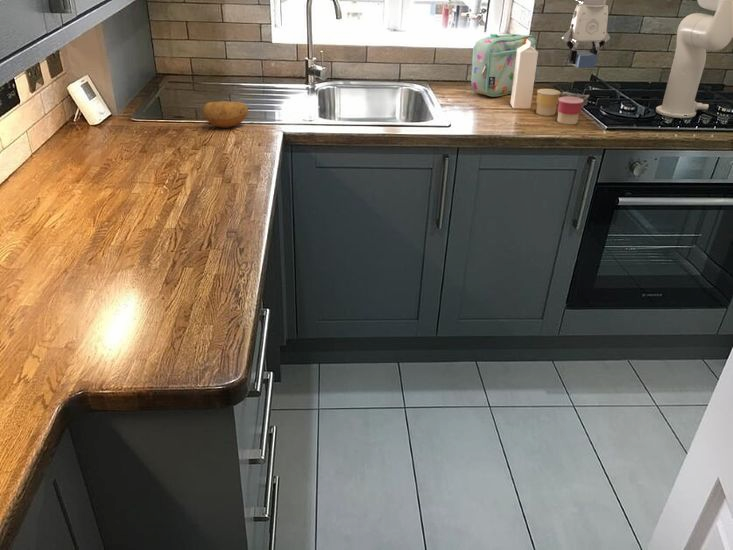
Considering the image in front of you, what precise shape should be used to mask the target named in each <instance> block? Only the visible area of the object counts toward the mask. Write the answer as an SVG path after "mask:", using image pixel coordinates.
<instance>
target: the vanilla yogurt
mask: <svg viewBox="0 0 733 550" xmlns="http://www.w3.org/2000/svg"><path fill="white" fill-rule="evenodd" d="M536 93H537V94H536V100H535V102H536V109H535V113H536V114H537V115H540V116H546V117H549V116H554V115H556V110H557V106H558V105H557V104H558V101H559V95H560V93H561V91H560V90H558V89H555V88H554V89H553V88H540V89H537V90H536Z"/></svg>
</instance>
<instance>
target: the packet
mask: <svg viewBox="0 0 733 550" xmlns="http://www.w3.org/2000/svg"><path fill="white" fill-rule="evenodd" d="M576 51H577V55H576V60H575V64H571V63H569V60H568V58H569V56H568V57H567V63H568V64H570V65H571V66H574V67H575V68H578V69H583V68H585V69H586V68H587V69H589V68H596V64H597V59H598V54H597V55H595V54H593V53H591V52H590V50H587V49H582V50H581V49H580V50H579V49H578V50H577V49H576ZM569 52H570V50H569V51H568V53H569Z"/></svg>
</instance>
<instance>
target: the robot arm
mask: <svg viewBox="0 0 733 550" xmlns="http://www.w3.org/2000/svg"><path fill="white" fill-rule="evenodd" d="M575 1H576V2H578V4H576V7H575V8H574V11H573V15H572V19H571V22H570V26H569V29H568V30H567V31H566V32H565V33H564V34H563V35H562V36H561V40H562V41H563V42H564V44H565V45H566V46H567V47H568V49H569V51H570V52H569V51H568V57H569V58H568V57H567V61H568V60H569V63H568V64H570V63H571V64H570V65H572V64H575V60H576V55H577V51H576V50H577V48H578V47H579V44H580V43H581V42H583V43H584V42H586V43H587V42H590V43H591V48H590V49H589V52H591V53H593V54H595V55H597V56H598V52H599V50H600V49H601V47H603V46H604V45H605V43H607V42H608V41H609V40H610V39H611V36H610V34H609V33H608V31H607V29H608V19H609V5H606V4H607V0H575ZM697 4H698V6H699V7H700V8H702V9H705V10H709V11H712V12H715V13H714V15H713V14H707V13H703V12H702V13H701V12H694V13H690V14H688V15H687V16H685V17H684V18H682V20H681V21H680V23H679V25H678V27H677V31H676V43H675V44H676V45H675V51H674V56H673V60H672V64H671V68H670V72H669V76H668V79H667V83H666V88H665V90H664V91H665V92H664V95H663V100H662V104H661V105H658V106H656V107H655V112H656V114H659V115H661V116H664V117H668V118H673V119H675V118H676V119H690V118H694V117H696V115H697V111H698V110H700V111H701V110H702V111H708V110H709V104H708V103H703V102H697V101H696V97H697V93H698V89H699V86H700V82H701V80H702V75H703V72H704V68H705V66H706V62H707V61H706V60H707V51H710V52H711V51H712V52H717V51H721V50H723V49H724V48H725V47H727V46H728V45H729V44H730V43H731V41H732V39H733V0H697ZM570 39H571V40H570ZM684 115H687V116H684Z"/></svg>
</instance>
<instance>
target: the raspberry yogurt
mask: <svg viewBox="0 0 733 550" xmlns="http://www.w3.org/2000/svg"><path fill="white" fill-rule="evenodd" d="M582 103H583V99H581V98H578V97H571V96H565V97H560V98H559V105H557V112H558V113H557V118H556V121H557V123H560V124H562V125H576V124H578V121H579V116H580V114H581V112H582V108H581V107H582Z"/></svg>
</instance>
